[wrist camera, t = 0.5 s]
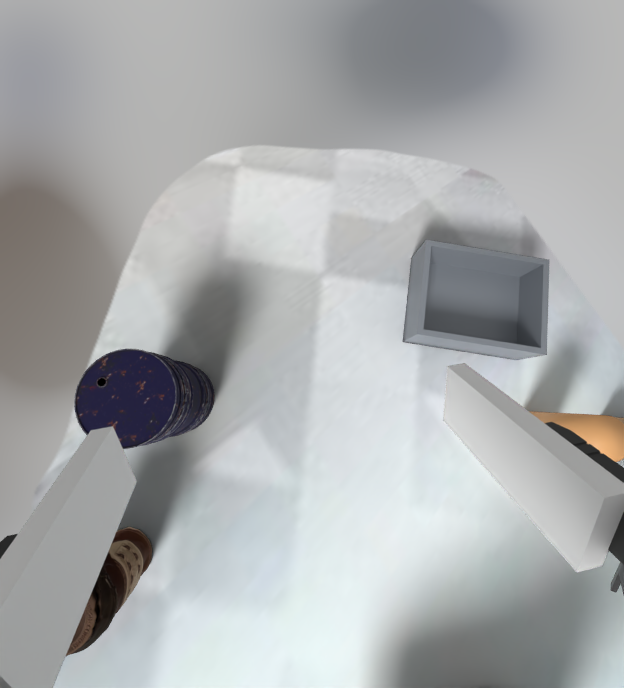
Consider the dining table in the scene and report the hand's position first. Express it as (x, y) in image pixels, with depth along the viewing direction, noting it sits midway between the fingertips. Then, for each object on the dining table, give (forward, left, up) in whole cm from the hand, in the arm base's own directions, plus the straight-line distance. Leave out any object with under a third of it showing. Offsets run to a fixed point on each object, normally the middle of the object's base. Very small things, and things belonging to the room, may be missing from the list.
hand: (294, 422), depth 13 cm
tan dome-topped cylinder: (-27, -21, -34) cm, 49 cm away
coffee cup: (+3, +29, -35) cm, 45 cm away
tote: (-8, -28, -34) cm, 45 cm away
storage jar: (+13, +11, -35) cm, 38 cm away
